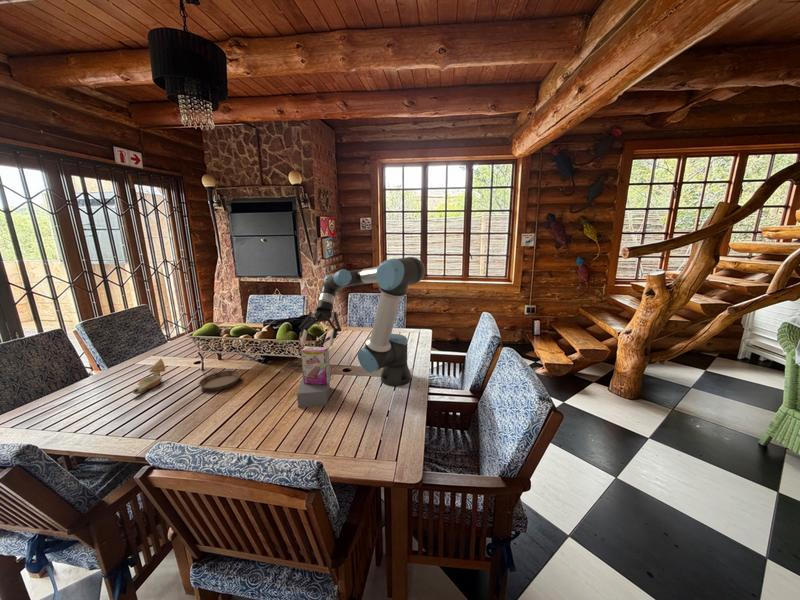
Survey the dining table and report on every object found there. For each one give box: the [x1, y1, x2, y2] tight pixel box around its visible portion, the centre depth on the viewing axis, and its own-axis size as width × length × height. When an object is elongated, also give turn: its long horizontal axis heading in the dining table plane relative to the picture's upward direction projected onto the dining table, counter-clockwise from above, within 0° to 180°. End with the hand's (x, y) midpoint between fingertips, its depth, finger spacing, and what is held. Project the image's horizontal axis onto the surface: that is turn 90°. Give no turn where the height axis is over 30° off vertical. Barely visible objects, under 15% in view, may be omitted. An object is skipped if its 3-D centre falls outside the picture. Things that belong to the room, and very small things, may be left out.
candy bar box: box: [300, 345, 332, 385], centre depth 141 cm, size 11×5×16 cm, turn 82°
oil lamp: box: [131, 358, 166, 395], centre depth 152 cm, size 9×21×10 cm, turn 6°
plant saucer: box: [198, 370, 241, 392], centre depth 156 cm, size 18×18×3 cm
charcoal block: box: [296, 377, 331, 409], centre depth 143 cm, size 12×16×7 cm
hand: (316, 344), depth 145 cm, fingers open, 13 cm apart
